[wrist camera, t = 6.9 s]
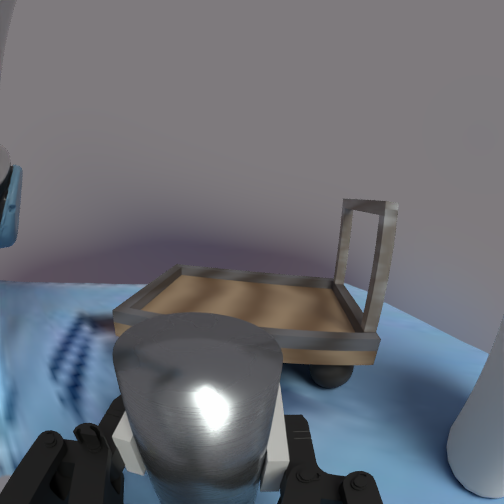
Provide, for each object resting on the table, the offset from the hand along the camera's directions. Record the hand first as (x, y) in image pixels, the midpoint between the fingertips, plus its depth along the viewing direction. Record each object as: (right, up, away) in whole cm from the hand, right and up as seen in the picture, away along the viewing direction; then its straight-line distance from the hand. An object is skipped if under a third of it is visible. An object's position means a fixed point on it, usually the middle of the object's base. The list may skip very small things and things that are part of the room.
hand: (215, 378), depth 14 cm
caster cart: (+1, -5, +18) cm, 19 cm away
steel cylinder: (-1, -8, -4) cm, 8 cm away
